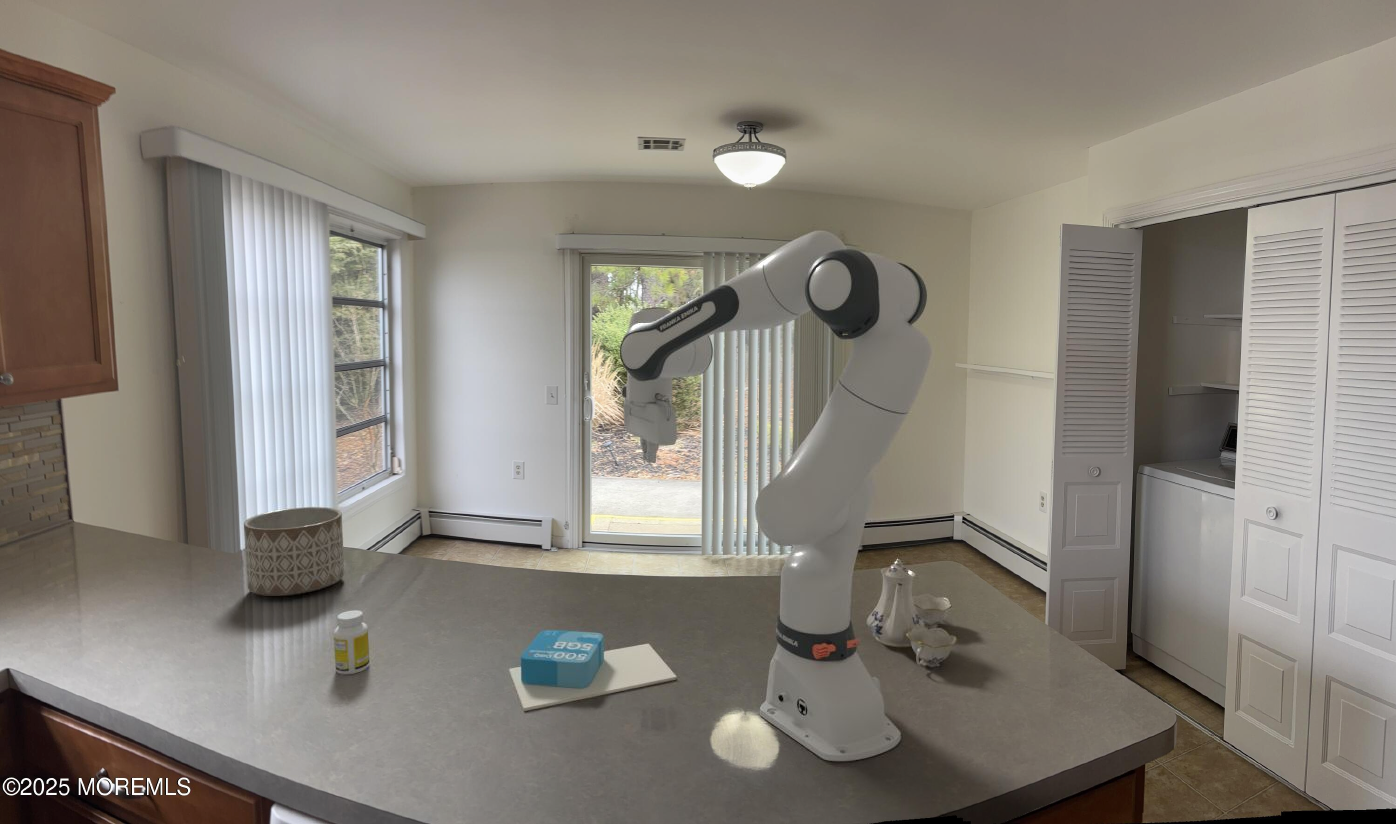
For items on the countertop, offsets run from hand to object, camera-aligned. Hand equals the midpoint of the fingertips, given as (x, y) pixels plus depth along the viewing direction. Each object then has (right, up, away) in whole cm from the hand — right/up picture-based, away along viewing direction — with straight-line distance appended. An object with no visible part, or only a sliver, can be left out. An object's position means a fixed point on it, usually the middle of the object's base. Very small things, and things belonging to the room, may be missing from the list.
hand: (649, 461), depth 137 cm
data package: (-13, -33, -10) cm, 36 cm away
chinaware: (+51, -36, 0) cm, 63 cm away
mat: (-9, -36, -16) cm, 41 cm away
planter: (-83, -31, +23) cm, 92 cm away
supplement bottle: (-51, -36, -15) cm, 64 cm away
